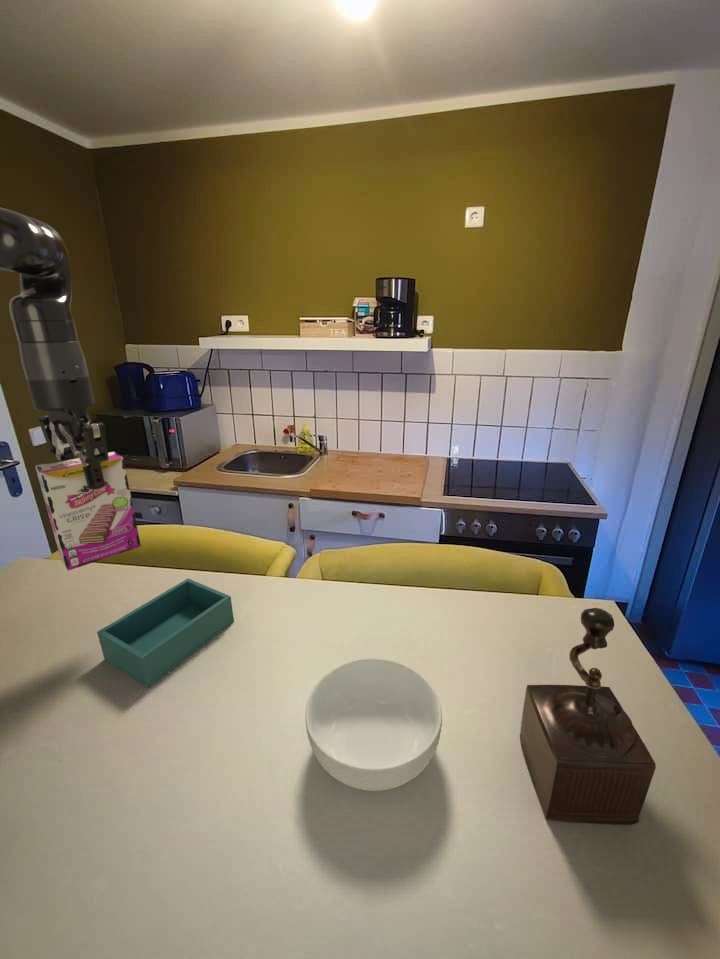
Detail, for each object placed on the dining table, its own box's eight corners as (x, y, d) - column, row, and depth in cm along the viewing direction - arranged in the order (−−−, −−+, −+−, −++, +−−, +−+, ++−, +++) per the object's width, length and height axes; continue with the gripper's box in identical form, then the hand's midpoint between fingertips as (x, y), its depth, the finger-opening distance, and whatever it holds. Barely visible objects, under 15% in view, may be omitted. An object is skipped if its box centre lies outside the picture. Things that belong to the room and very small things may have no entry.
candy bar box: (68, 573, 66) (39, 472, 60) (60, 561, 69) (32, 465, 64) (143, 547, 73) (124, 455, 68) (133, 537, 77) (114, 449, 71)
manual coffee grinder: (647, 826, 47) (690, 702, 40) (544, 822, 47) (571, 698, 41) (584, 706, 61) (609, 601, 55) (506, 703, 62) (521, 599, 55)
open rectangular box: (104, 659, 71) (96, 631, 69) (192, 602, 85) (187, 578, 83) (148, 687, 65) (141, 658, 63) (234, 621, 79) (230, 596, 77)
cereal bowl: (417, 686, 65) (419, 649, 62) (459, 799, 49) (464, 756, 47) (304, 703, 62) (302, 664, 60) (312, 828, 47) (309, 783, 44)
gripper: (3, 375, 62) (36, 484, 67) (55, 380, 55) (86, 501, 61) (59, 369, 68) (84, 470, 74) (112, 374, 61) (136, 484, 67)
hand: (85, 484), depth 67 cm, fingers closed on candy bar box, 5 cm apart
